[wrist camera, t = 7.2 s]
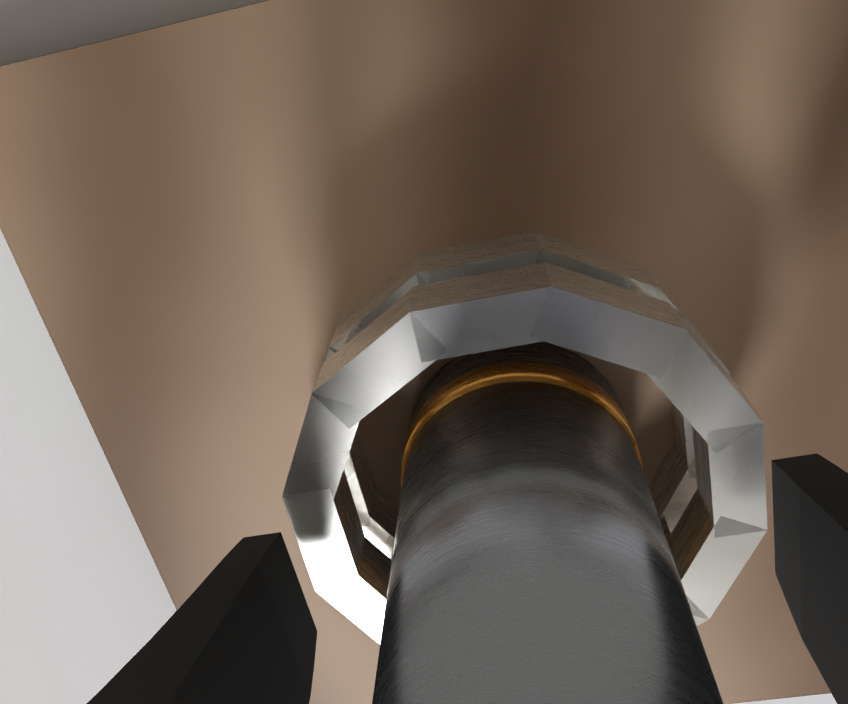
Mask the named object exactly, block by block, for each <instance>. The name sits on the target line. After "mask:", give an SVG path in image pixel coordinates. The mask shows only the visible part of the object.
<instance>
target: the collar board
mask: <svg viewBox="0 0 848 704" xmlns="http://www.w3.org/2000/svg"><path fill="white" fill-rule="evenodd" d="M0 228H1V231H2V233H3V235H4V237H5V239H6V241H7V244H8V246H9V248H10V250H11V252H12V254H13V257H14V259H15V261H16V263H17V265H18V267H19V270H20V272H21V274H22V276H23V278H24V280H25V283H26V285H27V287H28V289H29V291H30V293H31V296H32V298H33V300H34V302H35V304H36V306H37V309H38V311H39V313H40V315H41V317H42V319H43V322H44V324H45V326H46V328H47V330H48V332H49V335H50V337H51V339H52V341H53V343H54V345H55V348H56V350H57V352H58V354H59V356H60V358H61V361H62V363H63V365H64V367H65V369H66V371H67V374H68V376H69V378H70V380H71V382H72V384H73V387H74V389H75V391H76V393H77V395H78V397H79V400H80V402H81V404H82V406H83V408H84V410H85V413H86V415H87V417H88V419H89V421H90V423H91V426H92V428H93V430H94V432H95V434H96V436H97V439H98V441H99V443H100V445H101V447H102V449H103V451H104V454H105V456H106V458H107V460H108V462H109V464H110V467H111V469H112V471H113V473H114V475H115V477H116V480H117V482H118V484H119V486H120V488H121V490H122V493H123V495H124V497H125V499H126V501H127V503H128V506H129V508H130V510H131V512H132V514H133V516H134V519H135V521H136V523H137V525H138V527H139V529H140V532H141V534H142V536H143V538H144V540H145V542H146V545H147V547H148V549H149V551H150V553H151V555H152V558H153V560H154V562H155V564H156V566H157V568H158V571H159V573H160V575H161V577H162V579H163V581H164V584H165V586H166V588H167V590H168V592H169V594H170V597H171V599H172V601H173V603H174V605H175V607H176V610H178V609H179V608H180V607H181V605H182V604H183V603H184V602H185V601H186V600H187V599H188V598H189V597H190V596H191V594H192V593H193V592H194V591H195V590H196V589H197V588H198V586H199V585H200V584H201V583H202V582H203V581H204V580H205V579H206V577H207V576H208V575H209V574H210V573H211V572H212V571H213V570H214V568H215V567H216V566H217V565H218V564H219V563H220V562H221V561H222V559H223V558H224V557H225V556H226V555H227V554H228V553H229V552H230V551H231V550H232V549H233V548H234V546H235V545H236V544H237V543H238V542H239V541H240V540H241V539H242V538H243V537H250V536H257V535H264V534H271V533H277V532H281V534H282V536H283V539H284V542H285V545H286V547H287V550H288V553H289V555H290V558H291V561H292V564H293V566H294V569H295V572H296V575H297V577H298V580H299V583H300V585H301V588H302V591H303V594H304V596H305V599H306V602H307V605H308V607H309V610H310V613H311V615H312V618H313V621H314V624H315V626H316V629H317V641H316V652H315V663H314V672H313V680H312V689H311V696H310V701H309V704H372V700H373V693H374V685H375V678H376V671H377V664H378V656H379V649H380V644H379V643H377V642H376V641H375V640H374V639H373V638H371V637H370V636H369V635H368V634H367V633H365V632H364V631H363V630H362V629H361V628H359V627H358V626H357V625H356V624H355V623H353V622H352V621H351V620H350V619H349V618H347V617H346V616H345V615H344V614H342V613H341V612H340V611H339V610H338V609H336V608H335V607H334V606H333V605H332V604H330V603H329V602H328V601H327V600H326V599H324V598H323V597H322V596H321V595H320V594H318V593H317V592H316V591H315V588H314V586H313V583H312V580H311V577H310V574H309V572H308V569H307V566H306V563H305V560H304V558H303V555H302V552H301V549H300V546H299V544H298V541H297V538H296V535H295V532H294V530H293V527H292V524H291V521H290V519H289V516H288V513H287V510H286V507H285V505H284V502H283V499H282V494H283V490H284V487H285V484H286V480H287V477H288V473H289V470H290V466H291V463H292V460H293V456H294V453H295V449H296V446H297V442H298V439H299V436H300V432H301V429H302V425H303V422H304V418H305V415H306V411H307V408H308V405H309V401H310V398H311V393H312V391H313V388H314V385H315V383H316V380H317V377H318V375H319V372H320V369H321V367H322V364H323V363H324V362H325V359H326V356H327V353H328V349H329V345H330V343H331V340H332V337H333V335H334V332H335V329H336V327H337V324H338V323H339V322H340V321H341V320H342V319H344V318H345V317H346V316H347V315H348V314H349V313H351V312H352V311H353V310H354V309H355V308H356V307H358V306H359V305H360V304H361V303H362V302H363V301H365V300H366V299H367V298H368V297H369V296H370V295H372V294H373V293H374V292H375V291H376V290H377V289H379V288H380V287H381V286H382V285H383V284H384V283H386V282H387V281H388V280H389V279H390V278H391V277H392V276H394V275H395V274H396V273H397V272H398V271H399V270H401V269H402V268H403V267H404V266H405V265H406V264H408V263H409V262H410V261H411V260H412V259H413V258H415V257H416V256H417V255H418V254H419V253H422V252H427V251H432V250H438V249H443V248H448V247H453V246H458V245H463V244H469V243H474V242H479V241H484V240H489V239H495V238H500V237H505V236H510V235H515V234H520V233H526V232H531V231H536V230H537V231H539V232H542V233H545V234H548V235H551V236H555V237H558V238H561V239H564V240H567V241H570V242H573V243H576V244H579V245H582V246H585V247H588V248H591V249H594V250H597V251H600V252H603V253H606V254H609V255H612V256H615V257H619V258H622V259H625V260H628V261H631V262H634V263H637V264H640V265H643V266H646V267H647V268H648V269H649V270H650V272H651V273H652V274H653V275H654V276H655V278H656V279H657V280H658V281H659V282H660V284H661V285H662V286H663V287H664V288H665V290H666V291H667V292H668V293H669V295H670V296H671V297H672V298H673V299H674V301H675V302H676V303H677V304H678V305H679V307H680V308H681V309H682V310H683V311H684V313H685V314H686V315H687V316H688V317H689V319H690V320H691V321H692V322H693V324H694V325H695V326H696V327H697V328H698V330H699V331H700V332H701V333H702V334H703V336H704V337H705V338H706V339H707V340H708V342H709V343H710V344H711V345H712V346H713V348H714V349H715V351H716V352H717V354H718V355H719V357H720V358H721V360H722V361H723V363H724V364H725V366H726V367H727V369H728V370H729V372H730V377H731V378H732V379H733V381H734V382H735V383H736V384H737V385H738V387H739V388H740V389H741V390H742V391H743V393H744V394H745V396H746V397H747V399H748V400H749V402H750V403H751V405H752V406H753V408H754V409H755V411H756V412H757V414H758V415H759V417H760V418H761V420H762V421H763V428H764V454H765V480H766V506H767V529H768V530H767V532H766V533H765V535H764V536H763V538H762V539H761V541H760V542H759V544H758V545H757V547H756V549H755V550H754V552H753V553H752V555H751V556H750V558H749V559H748V561H747V562H746V564H745V565H744V567H743V568H742V570H741V572H740V573H739V575H738V576H737V578H736V579H735V581H734V582H733V584H732V585H731V587H730V588H729V590H728V591H727V593H726V595H725V596H724V598H723V599H722V601H721V602H720V604H719V605H718V607H717V608H716V610H715V611H714V613H713V614H712V616H711V618H710V619H709V620H707V621H706V622H704V623H702V624H700V625H698V626H697V629H698V631H699V634H700V637H701V640H702V643H703V646H704V649H705V652H706V654H707V657H708V660H709V663H710V666H711V669H712V672H713V675H714V678H715V680H716V683H717V686H718V689H719V692H720V695H721V698H722V701H723V704H733V703H742V702H751V701H761V700H770V699H780V698H789V697H799V696H808V695H818V694H827V693H831V691H830V689H829V688H828V686H827V684H826V682H825V680H824V679H823V677H822V675H821V673H820V671H819V669H818V668H817V666H816V664H815V662H814V660H813V659H812V657H811V655H810V653H809V651H808V649H807V647H806V646H805V644H804V642H803V640H802V638H801V636H800V633H799V631H798V628H797V626H796V624H795V621H794V619H793V616H792V614H791V612H790V609H789V607H788V604H787V602H786V599H785V596H784V594H783V591H782V589H781V586H780V584H779V581H778V579H777V576H776V574H775V549H774V520H773V491H772V462H771V460H775V459H782V458H789V457H796V456H803V455H809V454H816V453H817V454H819V455H821V456H822V457H824V458H825V459H827V460H829V461H830V462H832V463H833V464H835V465H836V466H838V467H839V468H841V469H842V470H844V471H845V472H847V473H848V0H269V1H265V2H261V3H256V4H252V5H248V6H244V7H240V8H236V9H232V10H228V11H224V12H220V13H216V14H212V15H208V16H204V17H200V18H195V19H191V20H187V21H183V22H179V23H175V24H171V25H167V26H163V27H159V28H155V29H151V30H147V31H143V32H139V33H134V34H130V35H126V36H122V37H118V38H114V39H110V40H106V41H102V42H98V43H94V44H90V45H86V46H82V47H77V48H73V49H69V50H65V51H61V52H57V53H53V54H49V55H45V56H41V57H37V58H33V59H29V60H25V61H21V62H16V63H12V64H8V65H4V66H0ZM543 342H545V341H543ZM563 348H564V347H563ZM566 349H567V348H566ZM568 350H570V351H572V352H574V353H576V354H578V355H580V356H581V357H583V358H584V359H586V360H587V361H588V362H590V363H591V364H592V365H593V366H594V367H595V368H597V369H598V370H599V371H600V372H601V373H602V375H603V376H604V377H605V378H606V379H607V381H608V382H609V384H610V385H611V387H612V388H613V390H614V392H615V394H616V396H617V399H618V401H619V404H620V406H621V409H622V411H623V413H624V415H625V416H626V418H627V420H628V422H629V425H630V427H631V429H632V432H633V435H634V437H635V440H636V443H637V446H638V449H639V452H640V456H641V460H642V465H643V473H644V476H645V478H646V481H647V484H648V486H649V484H650V482H651V480H652V478H653V477H654V475H655V473H656V471H657V469H658V467H659V466H660V464H661V462H662V460H663V458H664V456H665V455H666V453H667V451H668V449H669V447H670V446H671V444H672V442H673V440H674V428H673V417H672V407H671V401H670V400H669V399H668V397H667V396H666V395H665V394H664V393H663V392H662V391H661V389H660V388H659V387H658V386H657V385H656V384H655V383H654V381H653V380H652V379H651V378H650V377H649V376H648V375H647V374H646V373H644V372H640V371H637V370H634V369H631V368H628V367H625V366H621V365H618V364H615V363H612V362H609V361H606V360H602V359H599V358H596V357H593V356H590V355H586V354H583V353H580V352H577V351H574V350H571V349H568ZM452 358H454V357H450V358H445V359H439V360H436V361H435V362H433V363H432V364H431V365H429V366H428V367H427V368H426V369H424V370H423V371H422V372H421V373H419V374H418V375H417V376H416V377H414V378H413V379H412V380H410V381H409V382H408V383H407V384H405V385H404V386H403V387H402V388H400V389H399V390H398V391H397V392H395V393H394V394H393V395H391V396H390V397H389V398H388V399H386V400H385V401H384V402H383V403H381V404H380V405H379V406H378V407H376V408H375V409H374V410H372V411H371V412H370V413H369V414H367V415H366V416H365V417H364V418H362V419H361V420H360V421H359V424H358V429H359V433H360V436H361V440H362V443H363V446H364V450H365V453H366V457H367V460H368V463H369V467H370V470H371V474H372V477H373V480H374V484H375V485H376V486H377V487H378V488H379V489H381V490H382V491H383V492H384V493H385V494H386V495H387V496H388V497H389V498H390V499H391V500H393V501H394V502H395V503H396V504H397V505H398V506H399V503H400V496H401V468H402V460H403V453H404V446H405V442H406V438H407V434H408V432H409V430H410V423H411V417H412V413H413V409H414V406H415V403H416V401H417V398H418V396H419V394H420V392H421V391H422V389H423V387H424V386H425V384H426V383H427V382H428V380H429V379H430V378H431V377H432V375H433V374H434V373H435V372H436V371H437V370H439V369H440V368H441V367H442V366H443V365H444V364H445V363H447V362H448V361H450V360H451V359H452Z"/></svg>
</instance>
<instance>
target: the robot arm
mask: <svg viewBox="0 0 848 704" xmlns="http://www.w3.org/2000/svg"><path fill="white" fill-rule="evenodd" d="M771 462H772V491H773V520H774V549H775V574H776V576H777V579H778V581H779V584H780V586H781V589H782V591H783V594H784V596H785V599H786V602H787V604H788V607H789V609H790V612H791V614H792V616H793V619H794V621H795V624H796V626H797V628H798V631H799V633H800V636H801V638H802V640H803V642H804V644H805V646H806V647H807V649H808V651H809V653H810V655H811V657H812V659H813V660H814V662H815V664H816V666H817V668H818V669H819V671H820V673H821V675H822V677H823V679H824V680H825V682H826V684H827V686H828V688H829V689H830V691H831V693H832V695H833V697H834V698H835V700H836V702H837V704H848V473H847V472H845V471H844V470H842V469H841V468H839V467H838V466H836V465H835V464H833V463H832V462H830V461H829V460H827V459H825V458H824V457H822V456H821V455H819V454H817V453H816V454H809V455H803V456H796V457H789V458H782V459H775V460H771ZM316 641H317V629H316V626H315V624H314V621H313V618H312V615H311V613H310V610H309V607H308V605H307V602H306V599H305V596H304V594H303V591H302V588H301V585H300V583H299V580H298V577H297V575H296V572H295V569H294V566H293V564H292V561H291V558H290V555H289V553H288V550H287V547H286V545H285V542H284V539H283V536H282V534H281V532H277V533H271V534H264V535H257V536H250V537H243V538H242V539H241V540H240V541H239V542H238V543H237V544H236V545H235V546H234V548H233V549H232V550H231V551H230V552H229V553H228V554H227V555H226V556H225V557H224V558H223V559H222V561H221V562H220V563H219V564H218V565H217V566H216V567H215V568H214V570H213V571H212V572H211V573H210V574H209V575H208V576H207V577H206V579H205V580H204V581H203V582H202V583H201V584H200V585H199V586H198V588H197V589H196V590H195V591H194V592H193V593H192V594H191V596H190V597H189V598H188V599H187V600H186V601H185V602H184V603H183V604H182V605H181V607H180V608H179V609H178V610H177V611H176V612H175V613H174V614H173V615H172V617H171V618H170V619H169V620H168V621H167V622H166V623H165V624H164V625H163V626H162V628H161V629H160V630H159V631H158V632H157V633H156V634H155V635H154V636H153V637H152V639H151V640H150V641H149V642H148V643H147V644H146V645H145V646H144V647H143V648H142V649H141V650H140V651H139V652H138V653H137V654H136V655H135V656H134V657H133V658H132V659H131V660H130V661H129V662H128V663H127V664H126V665H125V666H124V667H123V668H122V669H121V670H120V671H119V672H118V673H117V674H116V675H115V676H114V677H113V678H112V679H111V680H110V681H109V682H108V683H107V684H106V685H105V687H104V688H103V689H102V690H101V691H100V692H99V693H97V694H96V695H95V696H94V697H93V698H92V699H91V700H90V701H89V702H88V703H87V704H309V701H310V696H311V689H312V680H313V672H314V663H315V652H316Z"/></svg>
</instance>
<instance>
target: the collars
mask: <svg viewBox="0 0 848 704" xmlns="http://www.w3.org/2000/svg"><path fill="white" fill-rule="evenodd" d="M543 341H545V342H548V343H552V344H555V345H558V346H561V347H564V348H567V349H571V350H574V351H577V352H580V353H583V354H586V355H590V356H593V357H596V358H599V359H602V360H606V361H609V362H612V363H615V364H618V365H621V366H625V367H628V368H631V369H634V370H637V371H640V372H644V373H646V374H647V375H648V376H649V377H650V378H651V379H652V380H653V381H654V383H655V384H656V385H657V386H658V387H659V388H660V389H661V391H662V392H663V393H664V394H665V395H666V396H667V397H668V399H669V400H670V401H671V407H672V417H673V428H674V440H673V442H672V444H671V446H670V447H669V449H668V451H667V453H666V455H665V456H664V458H663V460H662V462H661V464H660V466H659V467H658V469H657V471H656V473H655V475H654V477H653V478H652V480H651V482H650V484H649V486H648V487H649V490H650V493H651V496H652V499H653V502H654V504H655V507H656V510H657V513H658V516H659V519H660V522H661V525H662V527H663V530H664V533H665V536H666V539H667V542H668V545H669V548H670V551H671V553H672V556H673V559H674V562H675V565H676V568H677V571H678V574H679V577H680V579H681V582H682V585H683V588H684V591H685V594H686V597H687V600H688V603H689V605H690V608H691V611H692V614H693V617H694V620H695V623H696V626H698V625H700V624H702V623H704V622H706V621H707V620H709V619H710V618H711V616H712V614H713V613H714V611H715V610H716V608H717V607H718V605H719V604H720V602H721V601H722V599H723V598H724V596H725V595H726V593H727V591H728V590H729V588H730V587H731V585H732V584H733V582H734V581H735V579H736V578H737V576H738V575H739V573H740V572H741V570H742V568H743V567H744V565H745V564H746V562H747V561H748V559H749V558H750V556H751V555H752V553H753V552H754V550H755V549H756V547H757V545H758V544H759V542H760V541H761V539H762V538H763V536H764V535H765V533H766V532H767V530H768V529H767V506H766V480H765V454H764V428H763V421H762V420H761V418H760V417H759V415H758V414H757V412H756V411H755V409H754V408H753V406H752V405H751V403H750V402H749V400H748V399H747V397H746V396H745V394H744V393H743V391H742V390H741V389H740V388H739V387H738V385H737V384H736V383H735V382H734V381H733V379H732V378H731V377H730V372H729V370H728V369H727V367H726V366H725V364H724V363H723V361H722V360H721V358H720V357H719V355H718V354H717V352H716V351H715V349H714V348H713V346H712V345H711V344H710V343H709V342H708V340H707V339H706V338H705V337H704V336H703V334H702V333H701V332H700V331H699V330H698V328H697V327H696V326H695V325H694V324H693V322H692V321H691V320H690V319H689V317H688V316H687V315H686V314H685V313H684V311H683V310H682V309H681V308H680V307H679V305H678V304H677V303H676V302H675V301H674V299H673V298H672V297H671V296H670V295H669V293H668V292H667V291H666V290H665V288H664V287H663V286H662V285H661V284H660V282H659V281H658V280H657V279H656V278H655V276H654V275H653V274H652V273H651V272H650V270H649V269H648V268H647V267H646V266H643V265H640V264H637V263H634V262H631V261H628V260H625V259H622V258H619V257H615V256H612V255H609V254H606V253H603V252H600V251H597V250H594V249H591V248H588V247H585V246H582V245H579V244H576V243H573V242H570V241H567V240H564V239H561V238H558V237H555V236H551V235H548V234H545V233H542V232H539V231H537V230H536V231H531V232H526V233H520V234H515V235H510V236H505V237H500V238H495V239H489V240H484V241H479V242H474V243H469V244H463V245H458V246H453V247H448V248H443V249H438V250H432V251H427V252H422V253H419V254H418V255H417V256H416V257H415V258H413V259H412V260H411V261H410V262H409V263H408V264H406V265H405V266H404V267H403V268H402V269H401V270H399V271H398V272H397V273H396V274H395V275H394V276H392V277H391V278H390V279H389V280H388V281H387V282H386V283H384V284H383V285H382V286H381V287H380V288H379V289H377V290H376V291H375V292H374V293H373V294H372V295H370V296H369V297H368V298H367V299H366V300H365V301H363V302H362V303H361V304H360V305H359V306H358V307H356V308H355V309H354V310H353V311H352V312H351V313H349V314H348V315H347V316H346V317H345V318H344V319H342V320H341V321H340V322H339V323H338V324H337V327H336V329H335V332H334V335H333V337H332V340H331V343H330V345H329V349H328V353H327V356H326V359H325V362H324V363H323V364H322V367H321V369H320V372H319V375H318V377H317V380H316V383H315V385H314V388H313V391H312V393H311V398H310V401H309V405H308V408H307V411H306V415H305V418H304V422H303V425H302V429H301V432H300V436H299V439H298V442H297V446H296V449H295V453H294V456H293V460H292V463H291V466H290V470H289V473H288V477H287V480H286V484H285V487H284V490H283V494H282V499H283V502H284V505H285V507H286V510H287V513H288V516H289V519H290V521H291V524H292V527H293V530H294V532H295V535H296V538H297V541H298V544H299V546H300V549H301V552H302V555H303V558H304V560H305V563H306V566H307V569H308V572H309V574H310V577H311V580H312V583H313V586H314V588H315V591H316V592H317V593H318V594H320V595H321V596H322V597H323V598H324V599H326V600H327V601H328V602H329V603H330V604H332V605H333V606H334V607H335V608H336V609H338V610H339V611H340V612H341V613H342V614H344V615H345V616H346V617H347V618H349V619H350V620H351V621H352V622H353V623H355V624H356V625H357V626H358V627H359V628H361V629H362V630H363V631H364V632H365V633H367V634H368V635H369V636H370V637H371V638H373V639H374V640H375V641H376V642H377V643H379V644H380V642H381V634H382V627H383V620H384V613H385V605H386V598H387V591H388V583H389V576H390V569H391V562H392V554H393V547H394V540H395V532H396V525H397V518H398V511H399V506H398V505H397V504H396V503H395V502H394V501H393V500H391V499H390V498H389V497H388V496H387V495H386V494H385V493H384V492H383V491H382V490H381V489H379V488H378V487H377V486H376V485H375V484H374V480H373V477H372V474H371V470H370V467H369V463H368V460H367V457H366V453H365V450H364V446H363V443H362V440H361V436H360V433H359V429H358V424H359V421H360V420H361V419H362V418H364V417H365V416H366V415H367V414H369V413H370V412H371V411H372V410H374V409H375V408H376V407H378V406H379V405H380V404H381V403H383V402H384V401H385V400H386V399H388V398H389V397H390V396H391V395H393V394H394V393H395V392H397V391H398V390H399V389H400V388H402V387H403V386H404V385H405V384H407V383H408V382H409V381H410V380H412V379H413V378H414V377H416V376H417V375H418V374H419V373H421V372H422V371H423V370H424V369H426V368H427V367H428V366H429V365H431V364H432V363H433V362H435V361H436V360H439V359H445V358H450V357H456V356H462V355H468V354H474V353H479V352H485V351H491V350H497V349H502V348H508V347H514V346H520V345H525V344H531V343H537V342H543Z"/></svg>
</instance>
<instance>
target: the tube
mask: <svg viewBox="0 0 848 704" xmlns="http://www.w3.org/2000/svg"><path fill="white" fill-rule="evenodd" d="M372 704H723V701H722V698H721V695H720V692H719V689H718V686H717V683H716V680H715V678H714V675H713V672H712V669H711V666H710V663H709V660H708V657H707V654H706V652H705V649H704V646H703V643H702V640H701V637H700V634H699V631H698V629H697V626H696V623H695V620H694V617H693V614H692V611H691V608H690V605H689V603H688V600H687V597H686V594H685V591H684V588H683V585H682V582H681V579H680V577H679V574H678V571H677V568H676V565H675V562H674V559H673V556H672V553H671V551H670V548H669V545H668V542H667V539H666V536H665V533H664V530H663V527H662V525H661V522H660V519H659V516H658V513H657V510H656V507H655V504H654V502H653V499H652V496H651V493H650V490H649V487H648V484H647V481H646V478H645V476H644V473H643V465H642V460H641V456H640V452H639V449H638V446H637V443H636V440H635V437H634V435H633V432H632V429H631V427H630V425H629V422H628V420H627V418H626V416H625V415H624V413H623V411H622V409H621V406H620V404H619V401H618V399H617V396H616V394H615V392H614V390H613V388H612V387H611V385H610V384H609V382H608V381H607V379H606V378H605V377H604V376H603V375H602V373H601V372H600V371H599V370H598V369H597V368H595V367H594V366H593V365H592V364H591V363H590V362H588V361H587V360H586V359H584V358H583V357H581V356H580V355H578V354H576V353H574V352H572V351H570V350H568V349H566V348H563V347H561V346H558V345H555V344H552V343H548V342H537V343H531V344H525V345H520V346H514V347H508V348H502V349H497V350H491V351H485V352H479V353H474V354H468V355H462V356H456V357H454V358H452V359H451V360H450V361H448V362H447V363H445V364H444V365H443V366H442V367H441V368H440V369H439V370H437V371H436V372H435V373H434V374H433V375H432V377H431V378H430V379H429V380H428V382H427V383H426V384H425V386H424V387H423V389H422V391H421V392H420V394H419V396H418V398H417V401H416V403H415V406H414V409H413V413H412V417H411V423H410V430H409V432H408V434H407V438H406V442H405V446H404V453H403V460H402V468H401V496H400V503H399V511H398V518H397V525H396V532H395V540H394V547H393V554H392V562H391V569H390V576H389V583H388V591H387V598H386V605H385V613H384V620H383V627H382V634H381V642H380V649H379V656H378V664H377V671H376V678H375V685H374V693H373V700H372Z"/></svg>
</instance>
